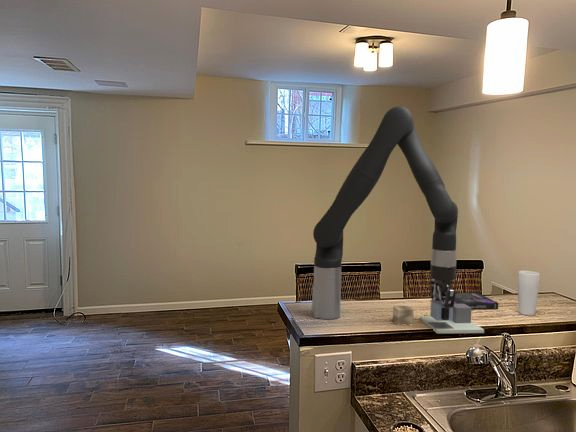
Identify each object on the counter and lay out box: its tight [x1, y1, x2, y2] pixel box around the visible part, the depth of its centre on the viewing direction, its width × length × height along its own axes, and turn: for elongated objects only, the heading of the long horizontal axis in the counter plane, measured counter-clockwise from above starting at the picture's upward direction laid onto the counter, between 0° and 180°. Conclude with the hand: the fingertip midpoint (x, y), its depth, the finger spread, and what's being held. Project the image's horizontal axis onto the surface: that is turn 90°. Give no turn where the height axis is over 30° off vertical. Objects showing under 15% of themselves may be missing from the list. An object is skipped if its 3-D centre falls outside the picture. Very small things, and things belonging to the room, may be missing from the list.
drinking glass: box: [517, 270, 541, 316], centre depth 158 cm, size 7×7×15 cm
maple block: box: [392, 305, 414, 326], centre depth 147 cm, size 5×5×5 cm
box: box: [431, 292, 500, 311], centre depth 170 cm, size 14×4×20 cm
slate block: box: [429, 300, 453, 321], centre depth 141 cm, size 5×5×5 cm
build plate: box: [419, 304, 485, 334], centre depth 144 cm, size 15×14×6 cm
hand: (441, 316), depth 141 cm, fingers closed on slate block, 5 cm apart
